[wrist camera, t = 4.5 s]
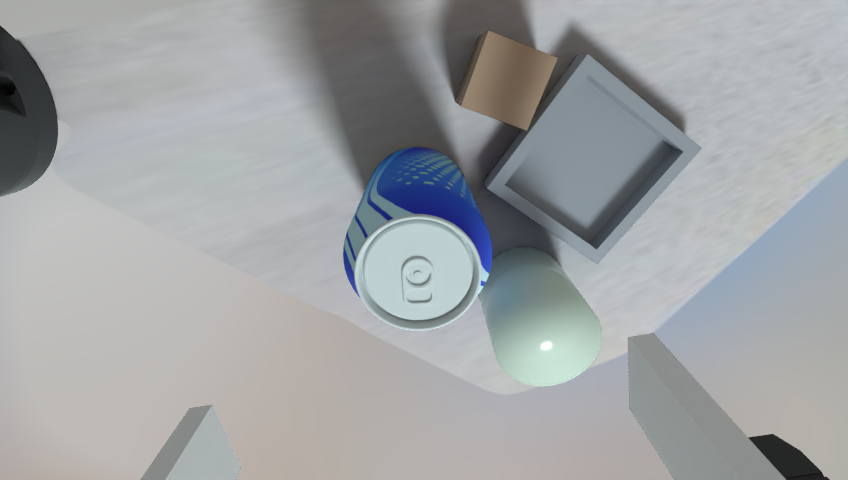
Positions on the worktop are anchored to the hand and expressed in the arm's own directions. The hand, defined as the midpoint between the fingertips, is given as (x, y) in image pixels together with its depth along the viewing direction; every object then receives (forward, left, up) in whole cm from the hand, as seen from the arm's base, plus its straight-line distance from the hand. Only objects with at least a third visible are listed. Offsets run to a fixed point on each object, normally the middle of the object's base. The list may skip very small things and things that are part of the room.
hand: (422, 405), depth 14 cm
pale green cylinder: (+13, -2, -25) cm, 28 cm away
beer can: (0, 0, -25) cm, 25 cm away
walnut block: (0, +11, -25) cm, 28 cm away
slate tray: (+10, +10, -25) cm, 29 cm away
